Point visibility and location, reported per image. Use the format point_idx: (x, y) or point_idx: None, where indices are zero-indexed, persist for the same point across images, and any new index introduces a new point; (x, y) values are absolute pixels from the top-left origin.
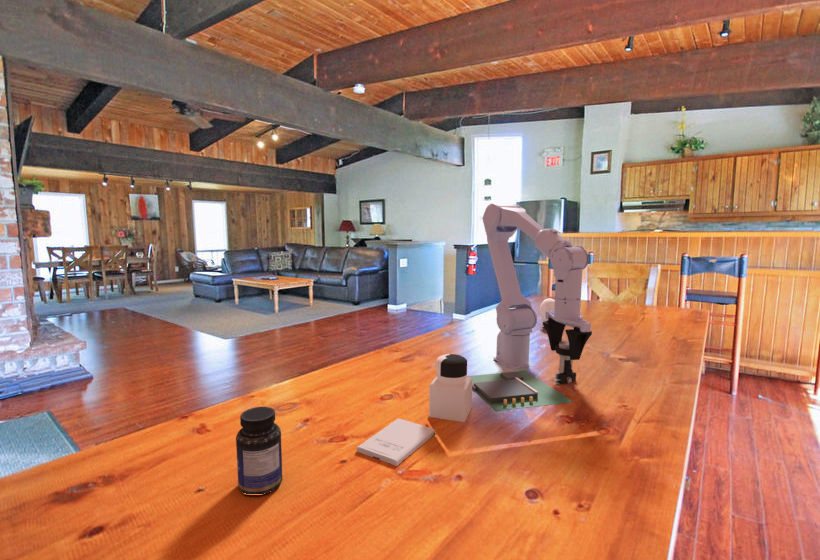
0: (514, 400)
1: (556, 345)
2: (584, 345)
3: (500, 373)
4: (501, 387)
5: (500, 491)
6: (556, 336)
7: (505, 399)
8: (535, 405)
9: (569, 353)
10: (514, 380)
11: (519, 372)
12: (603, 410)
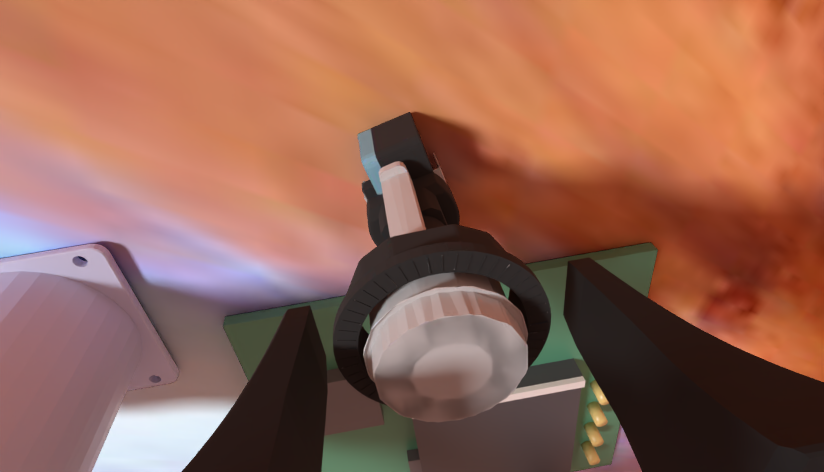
0: (602, 440)
1: (378, 395)
2: (697, 328)
3: None
4: (491, 459)
5: None
6: (302, 446)
7: (591, 461)
8: None
9: (584, 359)
10: None
11: (254, 354)
12: (756, 145)
